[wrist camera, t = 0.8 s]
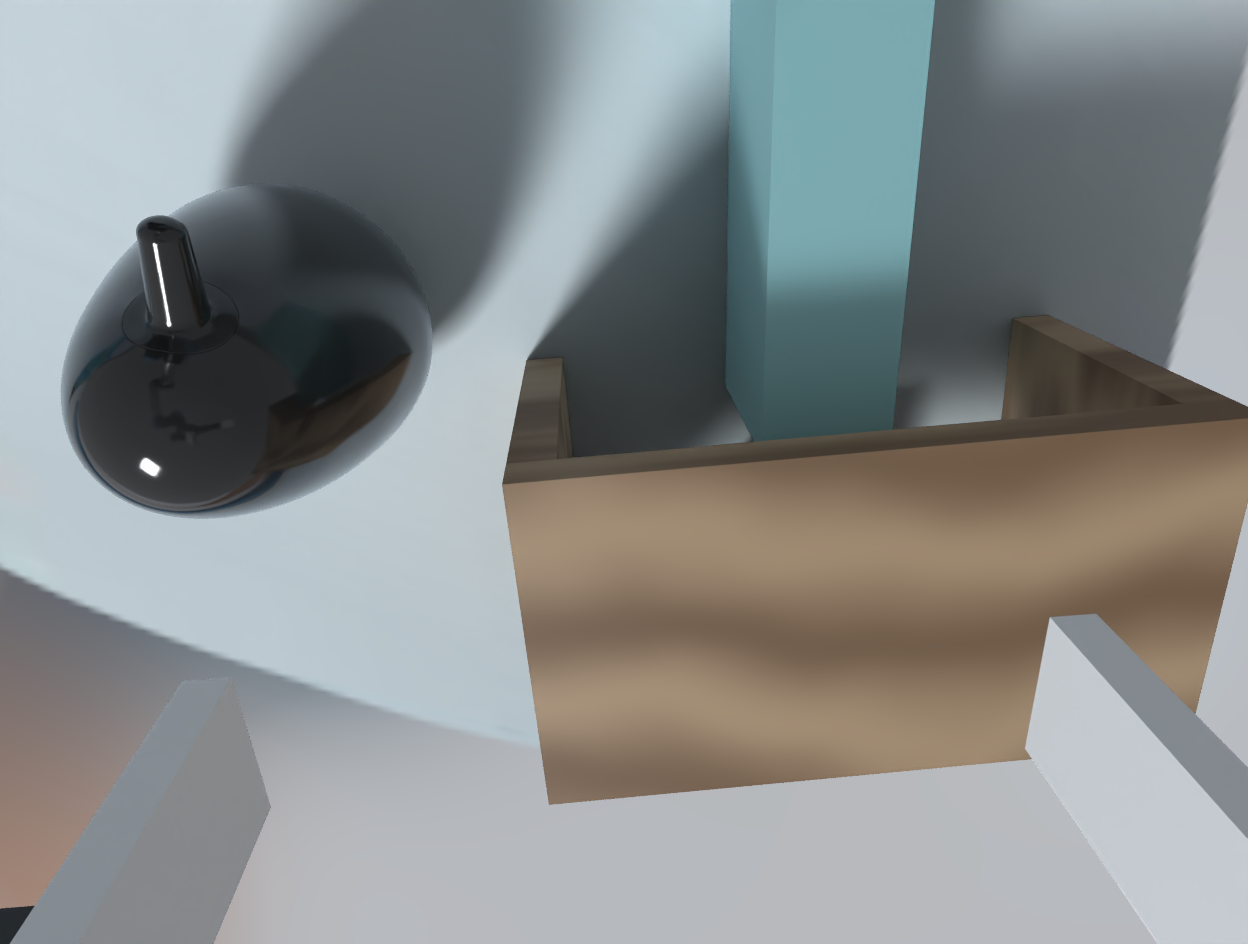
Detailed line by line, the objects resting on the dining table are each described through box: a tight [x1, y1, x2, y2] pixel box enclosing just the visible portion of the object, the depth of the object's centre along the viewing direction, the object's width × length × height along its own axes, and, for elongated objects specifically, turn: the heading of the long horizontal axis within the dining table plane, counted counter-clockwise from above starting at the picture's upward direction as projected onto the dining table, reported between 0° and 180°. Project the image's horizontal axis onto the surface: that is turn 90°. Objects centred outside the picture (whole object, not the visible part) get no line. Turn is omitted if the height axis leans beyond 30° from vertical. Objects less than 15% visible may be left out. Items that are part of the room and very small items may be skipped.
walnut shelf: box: [502, 315, 1248, 805], centre depth 32 cm, size 12×22×12 cm, turn 94°
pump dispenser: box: [61, 183, 432, 519], centre depth 27 cm, size 10×10×15 cm
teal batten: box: [726, 0, 935, 442], centre depth 28 cm, size 23×4×8 cm, turn 2°
